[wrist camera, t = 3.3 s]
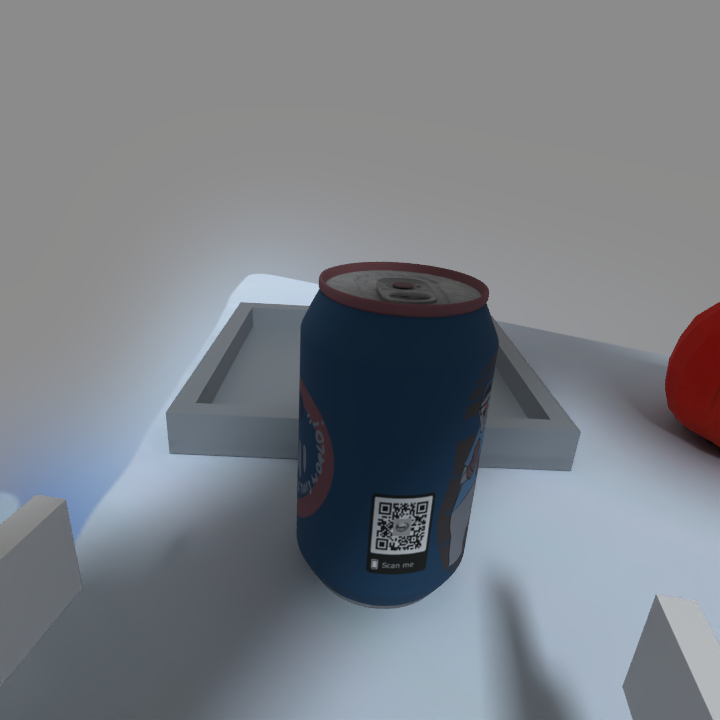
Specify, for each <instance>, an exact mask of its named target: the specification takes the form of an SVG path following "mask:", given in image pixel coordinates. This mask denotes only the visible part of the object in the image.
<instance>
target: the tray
mask: <svg viewBox="0 0 720 720" xmlns="http://www.w3.org/2000/svg"><path fill="white" fill-rule="evenodd" d="M309 307H310V306H298V305H280V304H261V303H242V302H241V303H240V304H239V306H238V307H237V309H236V310H235V312H234V313H233V315H232V316H231V318H230V319H229V321H228V322H227V323H226V325H225V326H224V328H223V329H222V331H221V332H220V334H219V335H218V337H217V338H216V340H215V341H214V343H213V344H212V346H211V347H210V348H209V350H208V351H207V353H206V354H205V356H204V357H203V359H202V360H201V362H200V363H199V365H198V366H197V368H196V369H195V371H194V372H193V373H192V375H191V376H190V378H189V379H188V381H187V382H186V384H185V385H184V387H183V388H182V390H181V391H180V393H179V394H178V396H177V397H176V398H175V400H174V401H173V403H172V404H171V406H170V407H169V409H168V410H167V412H166V419H167V429H168V440H169V451H170V453H173V454H196V455H219V456H242V457H264V458H287V459H298V432H299V380H300V327H301V322H302V320H303V318H304V316H305V314H306V312H307V310H308V308H309ZM491 318H492V321H493V324H494V326H495V329H496V332H497V336H498V339H499V347H498V353H497V359H496V365H495V371H494V377H493V383H492V389H491V395H490V401H489V407H488V412H487V418H486V424H485V430H484V436H483V442H482V448H481V454H480V460H479V466H478V467H492V468H515V469H538V470H561V471H571V468H572V464H573V460H574V456H575V452H576V448H577V444H578V440H579V436H580V430H579V429H578V428H577V426H576V425H575V424H574V423H573V421H572V420H571V419H570V417H569V416H568V415H567V413H566V412H565V411H564V410H563V408H562V407H561V406H560V404H559V403H558V402H557V400H556V399H555V398H554V397H553V395H552V394H551V393H550V391H549V390H548V389H547V387H546V386H545V385H544V384H543V382H542V381H541V380H540V378H539V377H538V376H537V374H536V373H535V372H534V370H533V369H532V368H531V367H530V365H529V364H528V363H527V361H526V360H525V359H524V357H523V356H522V355H521V354H520V352H519V351H518V350H517V348H516V347H515V346H514V344H513V343H512V342H511V341H510V339H509V338H508V337H507V335H506V334H505V333H504V331H503V330H502V329H501V328H500V326H499V325H498V324H497V322H496V321H495V320H494V319H493V317H492V316H491Z"/></svg>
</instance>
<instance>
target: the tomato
mask: <svg viewBox="0 0 720 720" xmlns="http://www.w3.org/2000/svg"><path fill="white" fill-rule="evenodd" d="M665 391H666V396H667V402H668V407H669V409H670V410H671V411H672V413H673V414H674V416H675V417H676V419H678V420H679V421H680V422H681V423H682V424H683V425H684V426H685V427H686V428H688V429H689V430H691V431H693V432H694V433H696V434H697V435H699V436H701V437H703V438H705V439H707V440H709V441H711V442H713V443H714V444H716V445H717V446H719V447H720V302H719V303H717V304H715V305H714V306H712V307H710V308H709V309H707V310H705V311H704V312H702V313H701V314H699V315H697V316H696V317H695V318H694V319H693V321H692V322H691V323H690V325H689V326H688V327H687V329H686V330H685V331H684V332H683V334H682V335H681V336H680V338H679V340H678V342H677V344H676V346H675V348H674V350H673V353H672V354H671V356H670V358H669V363H668V369H667V374H666V380H665Z"/></svg>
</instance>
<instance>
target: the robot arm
mask: <svg viewBox="0 0 720 720" xmlns="http://www.w3.org/2000/svg"><path fill="white" fill-rule="evenodd" d="M81 590H82V582H81V577H80V572H79V566H78V561H77V556H76V550H75V545H74V540H73V535H72V529H71V524H70V519H69V513H68V508H67V503H66V499H59V498H54V497H47V496H40V495H35V496H34V497H33V498H32V499H30V500H29V501H28V502H27V503H26V504H25V505H23V506H22V507H21V508H20V509H19V510H17V511H16V512H15V513H14V514H13V515H12V516H10V517H9V518H8V519H7V520H6V521H4V522H3V523H2V524H1V525H0V687H1V686H2V685H3V684H4V682H5V681H6V680H7V679H8V678H9V676H10V675H11V674H12V673H13V672H14V670H15V669H16V668H17V667H18V666H19V664H20V663H21V662H22V661H23V660H24V658H25V657H26V656H27V655H28V654H29V652H30V651H31V650H32V649H33V647H34V646H35V645H36V644H37V643H38V641H39V640H40V639H41V638H42V637H43V635H44V634H45V633H46V632H47V631H48V629H49V628H50V627H51V626H52V625H53V623H54V622H55V621H56V620H57V619H58V617H59V616H60V615H61V614H62V613H63V611H64V610H65V609H66V608H67V606H68V605H69V604H70V603H71V602H72V600H73V599H74V598H75V597H76V596H77V594H78V593H79V592H80V591H81ZM622 687H623V690H624V693H625V696H626V699H627V703H628V706H629V709H630V712H631V715H632V719H633V720H720V644H719V643H718V641H717V639H716V637H715V635H714V633H713V631H712V629H711V628H710V626H709V624H708V622H707V620H706V618H705V616H704V614H703V613H702V611H701V609H700V607H699V605H698V603H697V601H696V600H690V599H683V598H677V597H671V596H665V595H658V594H656V596H655V599H654V601H653V604H652V607H651V610H650V612H649V615H648V618H647V621H646V623H645V626H644V629H643V632H642V634H641V637H640V640H639V643H638V645H637V648H636V651H635V654H634V656H633V659H632V662H631V664H630V667H629V670H628V673H627V675H626V678H625V681H624V684H623V686H622Z"/></svg>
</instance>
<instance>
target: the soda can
mask: <svg viewBox="0 0 720 720" xmlns="http://www.w3.org/2000/svg"><path fill="white" fill-rule="evenodd" d="M319 288H320V289H319V291H318V292H317V294H316V296H315V298H314V299H313V301H312V303H311V305H310V307H309V308H308V310H307V312H306V314H305V316H304V318H303V320H302V322H301V327H300V380H299V432H298V484H297V541H298V545H299V548H300V550H301V553H302V555H303V557H304V558H305V560H306V562H307V563H308V565H309V566H310V567H311V569H312V570H313V571H314V572H315V574H316V575H317V576H318V577H319V578H320V579H321V581H322V582H323V583H324V584H325V585H326V586H327V587H328V588H329V589H330V590H331V591H332V592H334V593H335V594H337V595H338V596H340V597H341V598H343V599H345V600H347V601H350V602H352V603H355V604H358V605H361V606H365V607H371V608H381V609H388V608H398V607H403V606H407V605H410V604H413V603H415V602H417V601H419V600H421V599H423V598H424V597H426V596H427V595H429V594H430V593H431V592H433V591H434V590H435V589H437V588H438V587H439V586H441V585H442V584H443V583H444V582H445V581H446V580H447V579H448V578H449V577H450V576H451V575H452V574H453V573H454V572H455V570H456V569H457V567H458V566H459V564H460V562H461V559H462V557H463V553H464V548H465V542H466V536H467V531H468V525H469V519H470V513H471V507H472V501H473V495H474V489H475V483H476V477H477V472H478V466H479V460H480V454H481V448H482V442H483V436H484V430H485V424H486V418H487V412H488V407H489V401H490V395H491V389H492V383H493V377H494V371H495V365H496V359H497V353H498V347H499V339H498V336H497V332H496V329H495V326H494V324H493V321H492V318H491V315H490V312H489V309H488V307H487V304H486V302H487V301H488V297H489V290H488V288H487V286H486V285H485V284H484V283H483V282H481V281H480V280H478V279H476V278H474V277H472V276H469V275H466V274H463V273H460V272H457V271H453V270H449V269H444V268H439V267H434V266H427V265H420V264H411V263H398V262H362V263H351V264H345V265H340V266H335V267H332V268H329V269H326V270H325V271H323V272H322V273H321V275H320V277H319Z"/></svg>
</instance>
